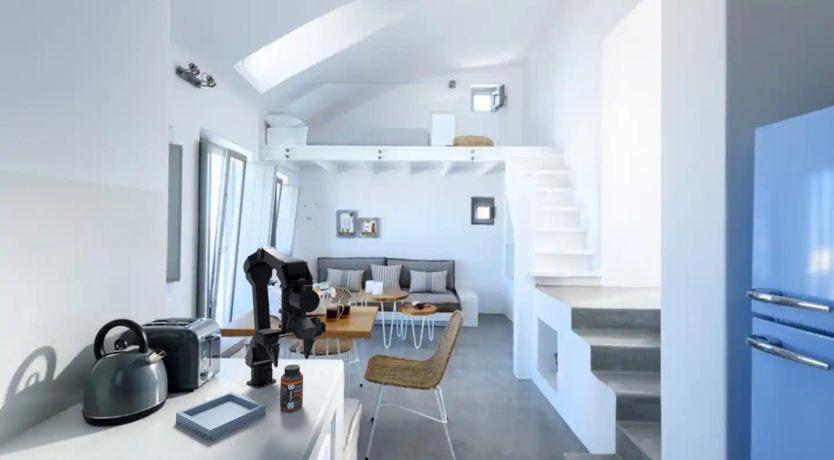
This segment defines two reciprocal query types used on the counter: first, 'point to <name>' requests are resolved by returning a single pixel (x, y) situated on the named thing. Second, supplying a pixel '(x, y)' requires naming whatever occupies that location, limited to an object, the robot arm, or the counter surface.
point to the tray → (220, 415)
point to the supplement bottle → (291, 389)
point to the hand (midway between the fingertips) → (291, 362)
